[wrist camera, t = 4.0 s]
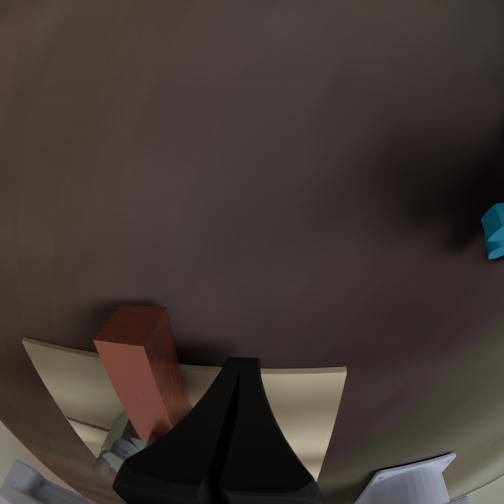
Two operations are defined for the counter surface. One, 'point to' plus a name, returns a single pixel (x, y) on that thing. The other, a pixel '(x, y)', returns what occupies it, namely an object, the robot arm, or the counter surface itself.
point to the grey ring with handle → (141, 379)
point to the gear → (494, 230)
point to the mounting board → (190, 398)
